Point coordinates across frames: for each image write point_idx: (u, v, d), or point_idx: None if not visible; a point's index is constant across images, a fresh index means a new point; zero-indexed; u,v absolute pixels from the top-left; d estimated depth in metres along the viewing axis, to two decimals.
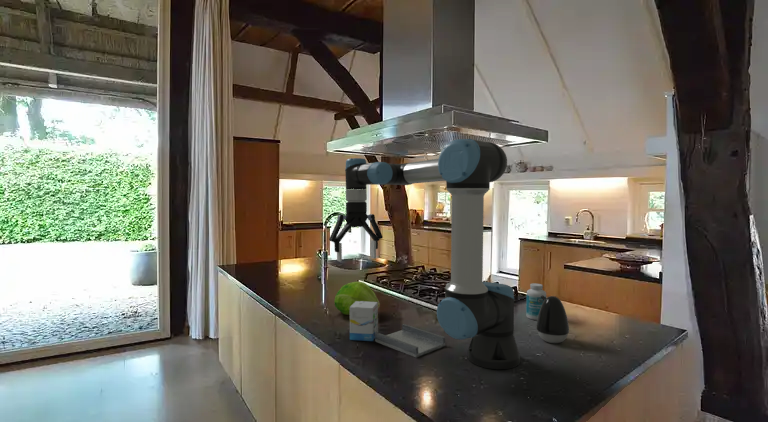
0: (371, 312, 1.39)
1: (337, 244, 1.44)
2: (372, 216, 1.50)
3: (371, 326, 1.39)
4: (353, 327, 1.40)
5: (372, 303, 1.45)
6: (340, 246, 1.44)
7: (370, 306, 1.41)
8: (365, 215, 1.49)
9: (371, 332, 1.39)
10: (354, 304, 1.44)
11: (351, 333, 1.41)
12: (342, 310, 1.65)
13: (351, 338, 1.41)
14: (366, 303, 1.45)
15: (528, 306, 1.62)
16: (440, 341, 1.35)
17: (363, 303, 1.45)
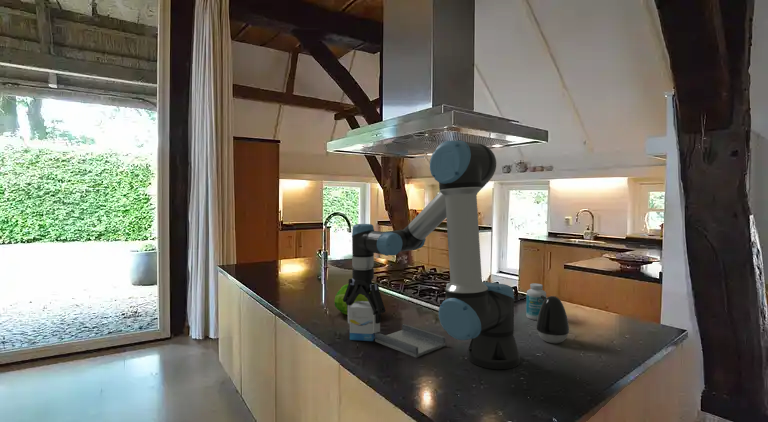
0: (371, 312, 1.39)
1: (348, 305, 1.49)
2: (371, 287, 1.38)
3: (371, 326, 1.39)
4: (353, 327, 1.40)
5: None
6: (348, 308, 1.48)
7: (370, 306, 1.41)
8: (366, 284, 1.40)
9: (371, 332, 1.39)
10: (354, 304, 1.44)
11: (351, 333, 1.41)
12: (342, 310, 1.65)
13: (351, 338, 1.41)
14: (366, 303, 1.45)
15: (528, 306, 1.62)
16: (440, 341, 1.35)
17: (363, 303, 1.45)
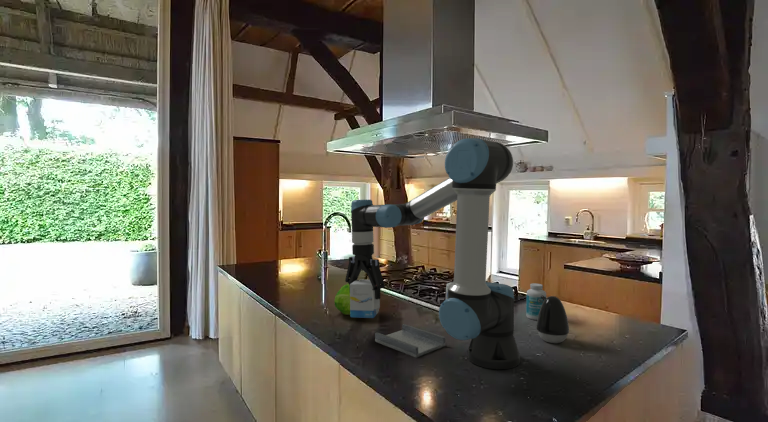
0: (371, 289, 1.38)
1: None
2: (372, 262, 1.38)
3: None
4: (354, 304, 1.40)
5: None
6: None
7: (370, 283, 1.40)
8: (366, 259, 1.40)
9: (372, 309, 1.39)
10: (354, 282, 1.43)
11: (352, 310, 1.40)
12: (342, 310, 1.65)
13: (352, 315, 1.40)
14: (366, 281, 1.44)
15: (528, 306, 1.62)
16: (440, 341, 1.35)
17: (363, 281, 1.44)
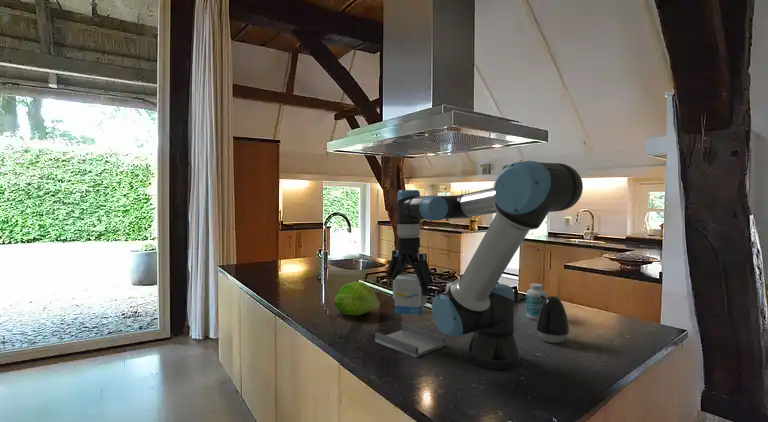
0: (418, 284, 1.31)
1: (393, 280, 1.41)
2: (419, 256, 1.30)
3: (418, 299, 1.31)
4: (399, 300, 1.33)
5: None
6: (393, 283, 1.40)
7: (417, 278, 1.33)
8: (413, 253, 1.32)
9: (418, 305, 1.31)
10: (399, 276, 1.36)
11: (396, 306, 1.33)
12: (342, 310, 1.65)
13: (396, 311, 1.33)
14: (411, 275, 1.37)
15: (528, 306, 1.62)
16: (440, 341, 1.35)
17: (408, 275, 1.37)
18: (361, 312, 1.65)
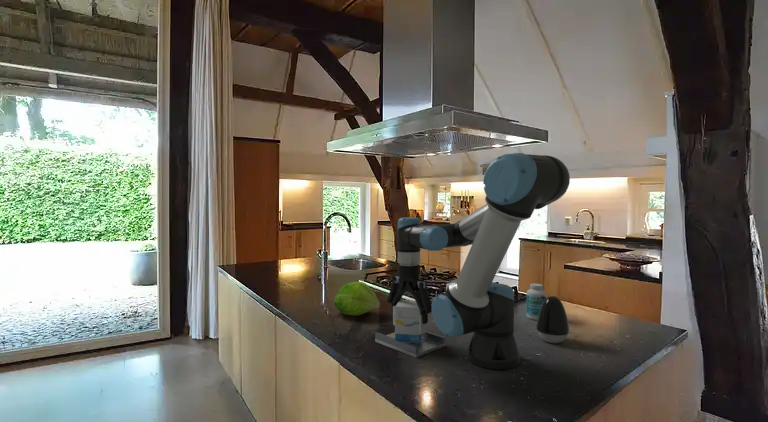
0: (418, 312, 1.32)
1: None
2: (420, 284, 1.31)
3: (418, 327, 1.32)
4: (399, 327, 1.33)
5: None
6: (393, 309, 1.40)
7: (417, 306, 1.34)
8: (413, 281, 1.33)
9: (418, 333, 1.32)
10: (399, 303, 1.36)
11: (397, 334, 1.33)
12: (342, 310, 1.65)
13: None
14: (411, 302, 1.37)
15: (528, 306, 1.62)
16: (440, 341, 1.35)
17: (408, 302, 1.37)
18: (361, 312, 1.65)
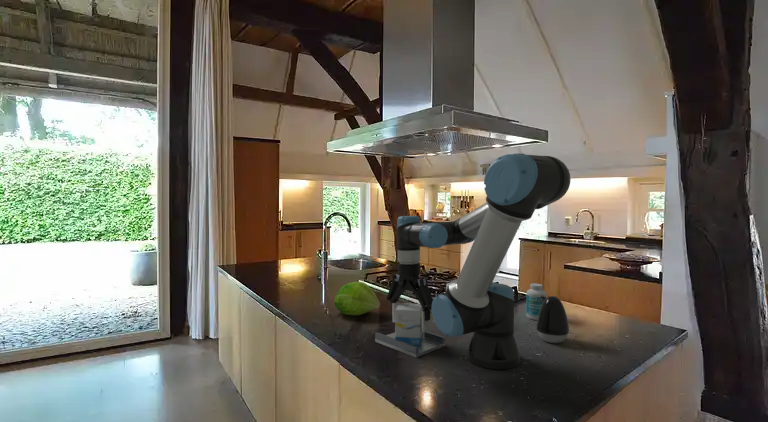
0: (418, 315, 1.32)
1: None
2: (420, 281, 1.31)
3: (418, 330, 1.32)
4: (399, 331, 1.33)
5: (418, 305, 1.37)
6: (393, 306, 1.40)
7: (417, 308, 1.34)
8: (413, 279, 1.33)
9: (418, 336, 1.32)
10: (399, 306, 1.37)
11: (397, 337, 1.33)
12: (342, 310, 1.65)
13: None
14: (411, 305, 1.37)
15: (528, 306, 1.62)
16: (440, 341, 1.35)
17: (408, 305, 1.37)
18: (361, 312, 1.65)
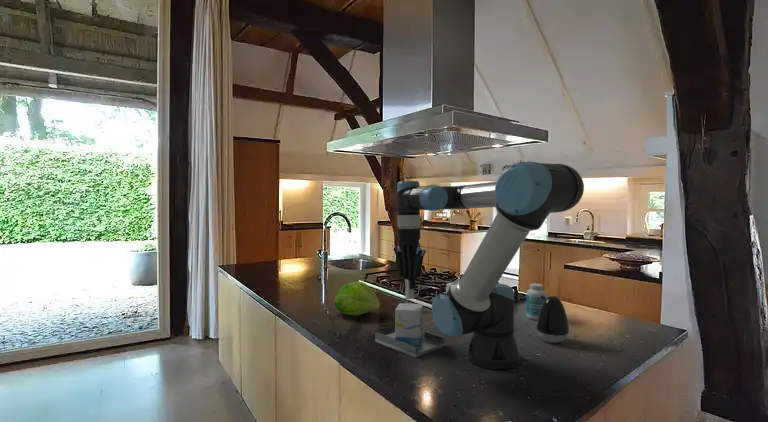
0: (418, 315, 1.32)
1: None
2: (418, 251, 1.31)
3: (418, 330, 1.32)
4: (399, 331, 1.33)
5: (418, 305, 1.37)
6: (406, 282, 1.35)
7: (417, 309, 1.34)
8: (414, 244, 1.32)
9: (418, 336, 1.32)
10: (399, 306, 1.37)
11: (397, 337, 1.33)
12: (342, 310, 1.65)
13: None
14: (411, 305, 1.37)
15: (528, 306, 1.62)
16: (440, 341, 1.35)
17: (408, 305, 1.37)
18: (361, 312, 1.65)
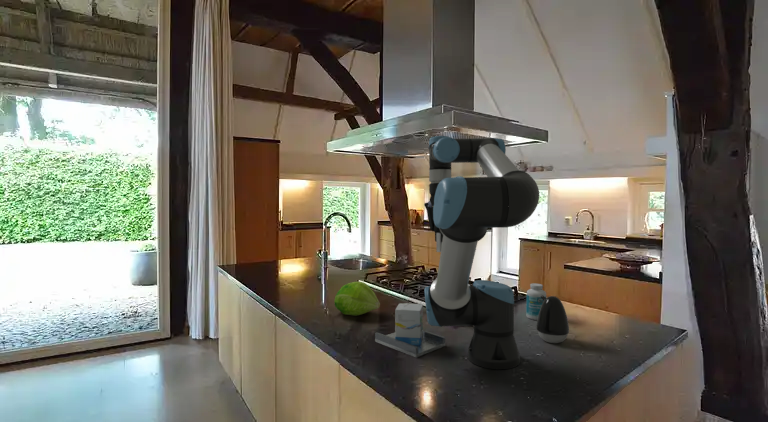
0: (418, 315, 1.32)
1: None
2: None
3: (418, 330, 1.32)
4: (399, 331, 1.33)
5: (418, 305, 1.37)
6: (437, 236, 1.39)
7: (417, 308, 1.34)
8: None
9: (418, 336, 1.32)
10: (399, 306, 1.37)
11: (397, 337, 1.33)
12: (342, 310, 1.65)
13: None
14: (411, 305, 1.37)
15: (528, 306, 1.62)
16: (440, 341, 1.35)
17: (408, 305, 1.37)
18: (361, 312, 1.65)
